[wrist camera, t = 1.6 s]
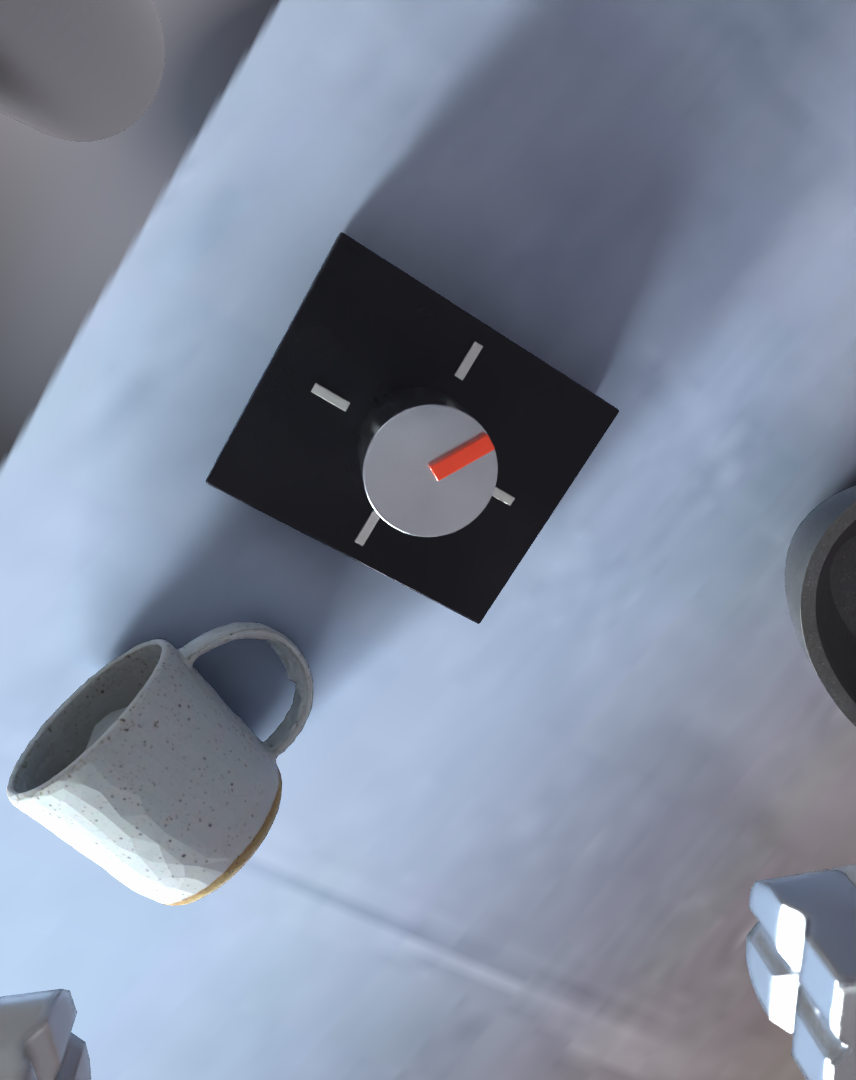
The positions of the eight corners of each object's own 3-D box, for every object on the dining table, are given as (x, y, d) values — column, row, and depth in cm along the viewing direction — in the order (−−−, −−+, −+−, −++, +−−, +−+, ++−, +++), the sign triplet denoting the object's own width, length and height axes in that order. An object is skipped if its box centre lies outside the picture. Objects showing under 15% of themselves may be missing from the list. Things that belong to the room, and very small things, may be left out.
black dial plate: (214, 463, 32) (203, 484, 29) (338, 234, 30) (341, 231, 27) (466, 596, 35) (480, 626, 32) (594, 398, 33) (622, 411, 30)
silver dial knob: (394, 524, 31) (405, 564, 26) (334, 424, 29) (337, 450, 25) (495, 467, 30) (523, 498, 26) (440, 363, 29) (461, 380, 25)
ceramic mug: (174, 832, 37) (142, 967, 30) (39, 715, 34) (-32, 833, 27) (354, 695, 36) (367, 800, 29) (230, 564, 33) (210, 644, 26)
